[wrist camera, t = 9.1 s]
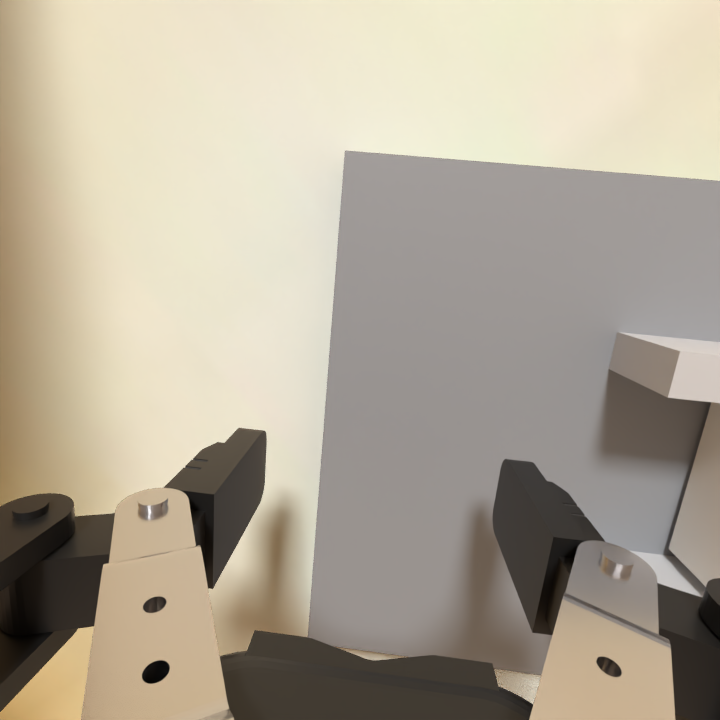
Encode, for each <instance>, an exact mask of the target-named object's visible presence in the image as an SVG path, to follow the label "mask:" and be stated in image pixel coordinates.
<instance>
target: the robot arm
mask: <svg viewBox="0 0 720 720" xmlns="http://www.w3.org/2000/svg"><path fill="white" fill-rule="evenodd" d="M265 463H266V432H265V431H262V430H253V429H244V428H238V429H237V430H236V431H235V432H234V433H233V435H232V436H231V437H230V438H229V439H228V440H227V441H226V442H225V443H219V442H217V443H215V444H213V445H211V446H209V447H206V448H204V449H202V450H201V451H200V452H199V453H198V454H197V455H196V456H195V457H194V458H193V460H191V461H190V462H189V463H188V464H187V465H186V467H185V468H183V469H182V470H181V471H180V472H179V473H178V474H177V475H176V476H175V477H174V478H173V479H172V480H171V481H170V482H169V483H168V484H167V485H166V486H165V487H164V488H153V489H147V490H143V491H140V492H137V493H134V494H132V495H130V496H128V497H126V498H125V499H124V500H122V501H121V502H120V503H119V504H118V506H117V507H116V510H115V513H113V514H103V515H89V516H75V514H74V502H73V500H72V499H71V498H70V497H68V496H65V495H62V494H51V493H48V494H37V495H32V496H27V497H23V498H20V499H17V500H14V501H11V502H9V503H6V504H4V505H2V506H1V507H0V712H1V711H2V710H3V709H4V707H5V706H6V705H7V704H8V703H9V702H10V701H11V700H12V699H13V698H14V697H15V696H16V695H17V694H18V693H19V692H20V691H21V689H22V688H23V687H24V686H25V685H26V684H27V683H28V682H29V681H30V680H31V679H32V678H33V677H34V676H35V675H36V674H37V673H38V672H39V670H40V669H41V668H42V667H43V666H44V665H45V664H46V663H47V662H48V661H49V660H50V659H51V658H52V657H53V656H54V655H55V654H56V653H57V651H58V650H59V649H60V648H61V647H62V646H63V645H64V644H65V643H66V642H67V641H68V640H69V639H70V638H71V637H72V636H73V634H74V633H75V632H76V631H77V629H78V628H84V627H91V626H94V631H93V638H92V646H91V653H90V660H89V667H88V674H87V681H86V688H85V695H84V702H83V709H82V716H81V720H720V578H715V579H711V580H709V581H708V582H707V585H706V588H705V591H704V594H703V597H699V596H696V595H693V594H690V593H687V592H684V591H680V590H677V589H674V588H671V587H668V586H665V585H662V584H659V583H657V576H656V573H655V571H654V570H653V569H652V567H651V566H650V565H649V564H648V563H647V562H645V561H644V560H643V559H642V558H640V557H639V556H637V555H636V554H634V553H632V552H631V551H629V550H627V549H625V548H622V547H620V546H618V545H615V544H612V543H608V542H605V540H604V539H603V538H602V536H601V535H600V534H599V532H598V531H597V530H596V529H595V527H594V526H593V525H592V523H591V522H590V521H589V519H588V518H587V517H585V516H584V515H585V514H584V513H583V512H582V510H581V509H580V508H579V507H577V504H576V503H575V501H574V500H573V499H572V497H571V496H570V495H569V493H568V492H566V491H565V490H563V489H562V488H560V487H559V486H558V485H556V484H555V483H553V482H549V481H547V480H546V479H545V478H544V476H543V475H542V474H541V472H540V471H539V469H538V468H537V467H536V465H535V464H534V463H533V462H528V461H520V460H511V459H504V460H503V462H502V465H501V469H500V475H499V480H498V486H497V491H496V497H495V502H494V508H493V530H494V534H495V536H496V539H497V542H498V544H499V547H500V549H501V552H502V555H503V557H504V560H505V562H506V565H507V568H508V570H509V573H510V576H511V578H512V581H513V583H514V586H515V589H516V591H517V594H518V597H519V599H520V602H521V604H522V607H523V610H524V612H525V615H526V617H527V620H528V623H529V625H530V628H531V631H532V633H538V634H546V635H552V639H551V642H550V646H549V650H548V653H547V657H546V661H545V664H544V668H543V671H542V675H541V679H540V682H539V686H538V690H537V693H536V697H535V700H534V704H531V703H530V702H528V701H527V700H525V699H523V698H522V697H520V696H518V695H516V694H514V693H512V692H510V691H508V690H506V689H503V688H501V687H498V684H497V680H496V676H495V672H494V668H493V664H492V663H488V662H480V661H473V660H466V659H459V658H452V657H444V656H437V655H427V656H417V657H408V658H398V659H388V660H379V661H372V660H367V659H364V658H361V657H359V656H356V655H354V654H351V653H349V652H346V651H344V650H341V649H338V648H336V647H333V646H331V645H328V644H326V643H323V642H320V641H318V640H315V639H313V638H307V637H299V636H292V635H285V634H278V633H270V632H263V631H256V630H255V631H254V634H253V637H252V639H251V642H250V645H249V647H248V650H247V651H243V652H236V653H232V654H227V655H223V656H220V655H219V650H218V644H217V638H216V632H215V626H214V620H213V614H212V609H211V603H210V597H209V591H208V588H211V589H213V588H214V586H215V584H216V582H217V580H218V578H219V577H220V575H221V573H222V571H223V569H224V567H225V566H226V564H227V562H228V560H229V558H230V557H231V555H232V553H233V551H234V549H235V547H236V546H237V544H238V542H239V540H240V538H241V536H242V535H243V533H244V531H245V529H246V527H247V526H248V524H249V522H250V520H251V518H252V516H253V515H254V513H255V511H256V509H257V507H258V505H259V504H260V501H261V498H262V495H263V490H264V483H265Z"/></svg>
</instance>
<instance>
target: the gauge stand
mask: <svg viewBox="0 0 720 720" xmlns="http://www.w3.org/2000/svg"><path fill="white" fill-rule="evenodd" d="M711 402H714V403H720V181H714V180H702V179H689V178H677V177H665V176H652V175H640V174H628V173H615V172H603V171H591V170H578V169H566V168H553V167H541V166H529V165H516V164H504V163H492V162H479V161H467V160H455V159H442V158H430V157H417V156H405V155H393V154H380V153H368V152H356V151H345V157H344V170H343V184H342V197H341V210H340V223H339V236H338V249H337V262H336V275H335V288H334V301H333V314H332V327H331V340H330V353H329V367H328V380H327V393H326V406H325V419H324V432H323V445H322V458H321V471H320V484H319V497H318V510H317V523H316V537H315V550H314V563H313V576H312V589H311V602H310V615H309V628H308V638H313V639H315V640H318V641H320V642H323V643H326V644H328V645H331V646H335V647H342V648H349V649H356V650H364V651H371V652H378V653H385V654H392V655H400V656H407V657H417V656H427V655H437V656H444V657H452V658H459V659H466V660H473V661H480V662H488V663H492V664H493V668H494V669H501V670H508V671H515V672H522V673H529V674H537V675H542V671H543V668H544V664H545V661H546V657H547V653H548V650H549V646H550V642H551V639H552V635H546V634H538V633H532V631H531V628H530V625H529V623H528V620H527V617H526V615H525V612H524V610H523V607H522V604H521V602H520V599H519V597H518V594H517V591H516V589H515V586H514V583H513V581H512V578H511V576H510V573H509V570H508V568H507V565H506V562H505V560H504V557H503V555H502V552H501V549H500V547H499V544H498V542H497V539H496V536H495V534H494V530H493V508H494V502H495V497H496V491H497V486H498V480H499V475H500V469H501V465H502V462H503V460H504V459H511V460H520V461H528V462H533V463H534V464H535V465H536V467H537V468H538V469H539V471H540V472H541V474H542V475H543V476H544V478H545V479H546V480H547V481H549V482H553V483H555V484H556V485H558V486H559V487H560V488H562V489H563V490H565V491H566V492H568V493H569V495H570V496H571V497H572V499H573V500H574V501H575V503H576V504H577V507H579V508H580V509H581V510H582V512H583V513H584V514H585V515H584V516H585V517H587V518H588V519H589V521H590V522H591V523H592V525H593V526H594V527H595V529H596V530H597V531H598V532H599V534H600V535H601V536H602V538H603V539H604V540H605V542H608V543H612V544H615V545H618V546H620V547H622V548H625V549H627V550H629V551H631V552H632V553H634V554H636V555H637V556H639V557H640V558H642V559H643V560H644V561H645V562H647V563H648V564H649V565H650V566H651V567H652V569H653V570H654V571H655V573H656V576H657V583H659V584H662V585H665V586H668V587H671V588H674V589H677V590H680V591H684V592H687V593H690V594H693V595H696V596H699V597H703V594H704V591H705V588H706V587H705V586H704V585H703V584H702V583H701V582H700V580H699V579H698V578H697V577H696V576H695V575H694V574H693V573H692V572H691V571H690V570H689V569H688V568H687V567H686V566H685V565H684V564H683V563H682V562H681V561H680V560H679V559H678V558H677V557H676V556H675V555H674V554H673V553H672V552H671V551H670V550H669V545H670V542H671V539H672V535H673V532H674V528H675V525H676V521H677V518H678V515H679V511H680V508H681V504H682V501H683V498H684V494H685V491H686V487H687V484H688V480H689V477H690V474H691V470H692V467H693V463H694V460H695V457H696V453H697V450H698V446H699V443H700V439H701V436H702V433H703V429H704V426H705V422H706V419H707V416H708V412H709V409H710V405H711Z"/></svg>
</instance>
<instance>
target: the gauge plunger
mask: <svg viewBox="0 0 720 720" xmlns="http://www.w3.org/2000/svg"><path fill="white" fill-rule="evenodd" d="M669 550H670V551H671V552H672V553H673V554H674V555H675V556H676V557H677V558H678V559H679V560H680V561H681V562H682V563H683V564H684V565H685V566H686V567H687V568H688V569H689V570H690V571H691V572H692V573H693V574H694V575H695V576H696V577H697V578H698V579H699V580H700V582H701V583H702V584H703V585H704V586H705V587H706V585H707V582H708V581H709V580H711V579H715V578H720V403H714V402H711V405H710V409H709V412H708V416H707V419H706V422H705V426H704V429H703V433H702V436H701V439H700V443H699V446H698V450H697V453H696V457H695V460H694V463H693V467H692V470H691V474H690V477H689V480H688V484H687V487H686V491H685V494H684V498H683V501H682V504H681V508H680V511H679V515H678V518H677V521H676V525H675V528H674V532H673V535H672V539H671V542H670V545H669Z"/></svg>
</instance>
